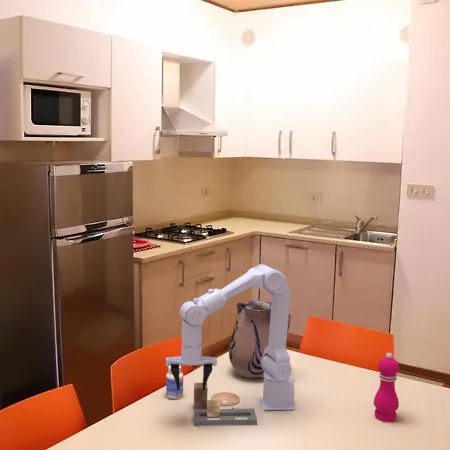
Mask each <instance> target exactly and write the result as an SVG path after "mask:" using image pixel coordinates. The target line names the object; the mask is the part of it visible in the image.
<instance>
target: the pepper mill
mask: <svg viewBox="0 0 450 450" xmlns="http://www.w3.org/2000/svg"><path fill="white" fill-rule="evenodd" d="M377 368H378V371H379V373H378V374H379V376H378V377H379V379H380V380H379V381H380V383H379V387H378V389H377V392H376V393H375V396H374V399H373V405H374V407H375V409H374V417H375V419H376V420H379V421H381V422H386V423H390V422H391V423H392V422H396V420H397V411H398V409H399V407H400V405H399V404H400V401H399V398H398V395H397V391H396V381H397V374H398V372H399V371H400V364H399V362H398V360H397V359H395V358H393V354H392V353H391V352H387V353H386V355H385V357H382V358H380V359H379V361H378V364H377Z"/></svg>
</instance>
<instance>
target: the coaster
mask: <svg viewBox="0 0 450 450" xmlns="http://www.w3.org/2000/svg"><path fill="white" fill-rule="evenodd" d="M210 398H211V399H210V400H219V403H220V407H221V406H223V407H230V406H235V405H238V404H239V402H240V400H241V399H240V396H239V395H238V394H236V393H233V392H229V391H221V392H216V393H214V394H212V395H211V397H210Z"/></svg>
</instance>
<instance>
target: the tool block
mask: <svg viewBox="0 0 450 450" xmlns="http://www.w3.org/2000/svg"><path fill="white" fill-rule="evenodd" d="M208 389H209V387H208V382H207V383H206V387H205V390H203V382H193V410H194V409H207V400H208Z"/></svg>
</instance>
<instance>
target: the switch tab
mask: <svg viewBox="0 0 450 450" xmlns="http://www.w3.org/2000/svg"><path fill="white" fill-rule="evenodd" d="M220 409H221V405H220V403H219V400H211V399H207V417H220Z"/></svg>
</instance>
